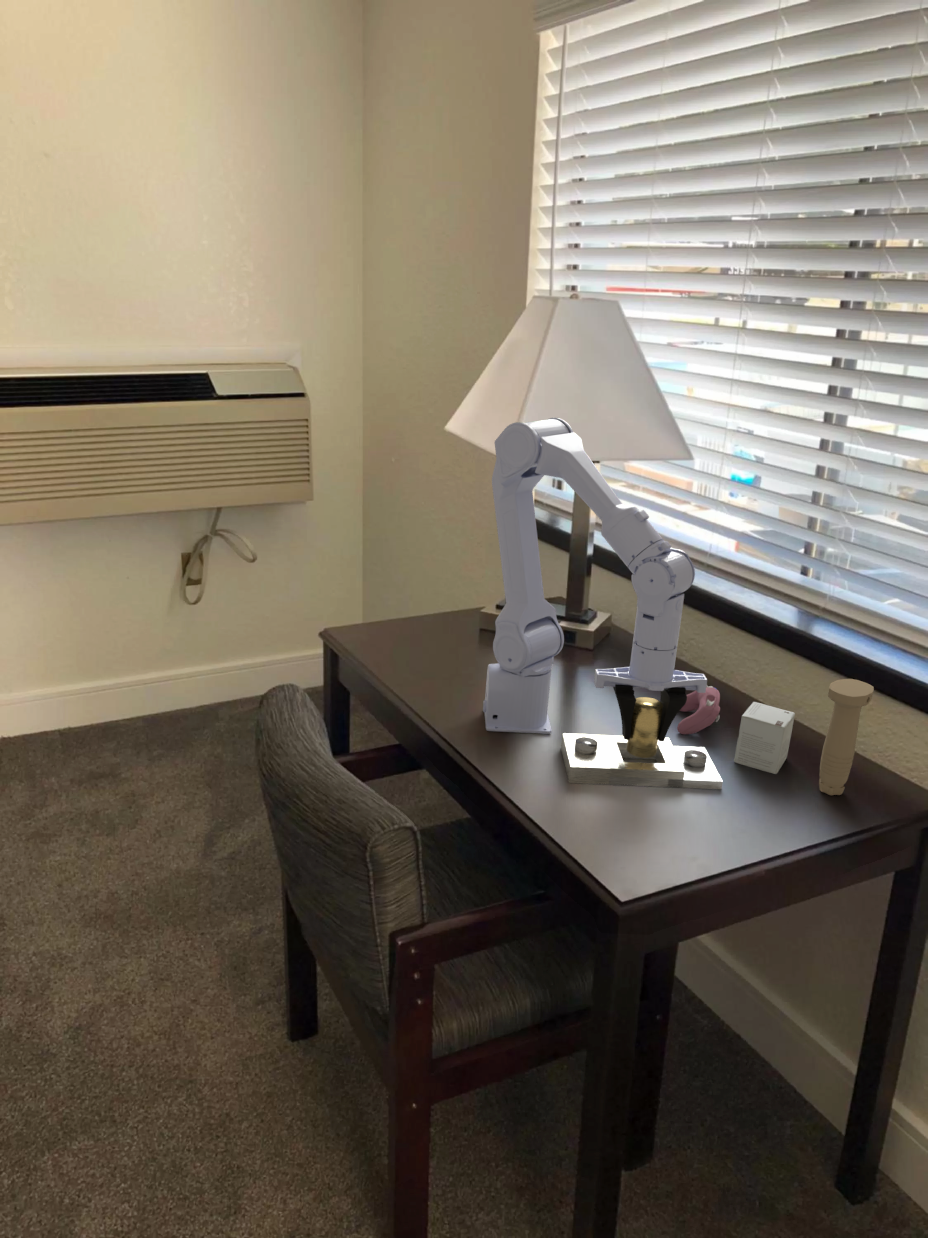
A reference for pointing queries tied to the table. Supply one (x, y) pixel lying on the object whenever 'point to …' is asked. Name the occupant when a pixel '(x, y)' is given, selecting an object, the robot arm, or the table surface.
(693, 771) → the right chain end
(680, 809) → the table surface
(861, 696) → the handle
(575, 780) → the plate
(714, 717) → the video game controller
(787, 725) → the skincare box
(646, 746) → the brass pin
